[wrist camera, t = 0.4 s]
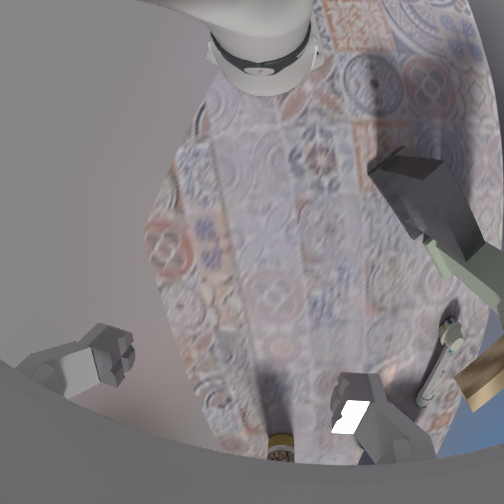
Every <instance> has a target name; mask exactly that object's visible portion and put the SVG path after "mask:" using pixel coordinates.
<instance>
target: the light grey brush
mask: <svg viewBox="0 0 504 504" xmlns="http://www.w3.org/2000/svg"><path fill="white" fill-rule="evenodd" d="M438 331H439V337H440V342H441V344H442V345H443V346H445V347H444V349H443V351H442V353H441V355H440V357H439V359H438V361H437V363H436V364H435V366H434V368H433V370H432V372H431V374H430V375H429V377H428V379H427V381H426V382H425V384H424V386H423V388H421V389H420V390H419V392H418V396H417V398H416V399H415V404H416V406H417V407H419V408H424V407H426V406H427V404H428V403H429V401H431V400H432V399H433V397H434V393H435V391H436V389H437V387H438V385H439V383H440V382H441V380H442V378H443V376H444V374H445V372H446V370H447V368H448V365H449V363H450V361H451V359H452V357H453V355H454V353H455V351H456V350H457V349H459V348H460V347H461V346H462V344H463V335H462V325H461V324H460V323H459V322H457V320H456V319H455V318H448V319H447V320H445V323H444V324H443V325H442V326H440V328H439V330H438Z"/></svg>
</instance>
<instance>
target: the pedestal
mask: <svg viewBox="0 0 504 504" xmlns="http://www.w3.org/2000/svg"><path fill="white" fill-rule="evenodd" d="M423 244H424V246H425V247H426V249H427V251H428V253H429V255H430V256H431V258H432V260H433V262H434V264H435V265H436V267H437V269H438V271H439V273H440V275H441V277H442V278H443V279H445V280H446V279H447V278H448V277H449V276H450V275H451V274H454V275H455V276H456V277H457V278H458V279H459V280H461V281H462V282H463V283H464V284H465V285H466V286H467V287H469V288H470V289H471V290H472V291H473V292H474V293H475V294H476V295H477V296H479V297H480V298H481V299H482V300H483V301H484V302H485V303H486V304H487V305H488V306H489V307H490V308H491V309H492V310H494V311H495V312H496V313H497V314H498V315H499V316H500V320H501V324H502V327H503V331H504V252H503V251H501V250H499V249H498V248H496V247H494V246H492V245H491V244H489V243H487V242H486V241H485V244H484V245H483V246H482V247H481V248H480V249H479V250H478V251H477V252H476V253H475V254H474V255H473V256H472V257H471V258H470V259H469V260H468V261H467V262H465V261H464V260H463V259H461V258H460V257H458V256H457V255H456V254H454V253H453V252H451V251H450V250H448V249H447V248H446V247H444V246H443V245H441V244H440V243H438V242H437V241H435V240H434V239H432V238H431V237H429V238H428V239H427V240H426V241H425V242H423Z"/></svg>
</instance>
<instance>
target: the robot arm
mask: <svg viewBox="0 0 504 504" xmlns="http://www.w3.org/2000/svg"><path fill="white" fill-rule="evenodd" d="M136 1H142V2H146V3H151V4H155V5H159V6H162V7H165V8H168V9H171V10H174V11H177V12H179V13H182V14H184V15H187V16H189V17H192V18H194V19H196V20H198V21H200V22H202V23H204V24H205V25H206V26H207V27H208V28H209V30H210V33H211V40H210V41H209V42H208V49H207V52H206V58H207V60H208V61H209V62H210V63H211V64H213V65H215V66H216V67H218V68H220V69H221V71H222V72H223V73H224V75H225V76H226V78H227V79H228V80H229V81H230V83H232V84H233V85H234V86H235V87H236V88H238V89H240V90H241V91H243V92H246V93H249V94H252V95H256V96H274V95H279V94H282V93H285V92H287V91H289V90H291V89H293V88H294V87H296V86H297V85H298V84H299V83H300V82H301V81H302V80H303V79H304V78H305V76H306V75H307V74H308V73H309V72H311V71H313V70H316V69H318V68H320V67H321V66H322V65H323V64H324V61H325V57H324V52H323V48H322V43H321V39H320V34H319V30H318V26H317V22H316V18H315V14H314V10H313V6H314V0H136ZM317 52H318V55H316V54H317ZM132 342H133V335H132V333H130V332H128V331H125V330H121V329H119V328H116V327H113V326H109V325H106V324H103V323H98V324H96V325H95V326H94V327H93V328H92V329H91V330H90V331H89V332H88V333H87V334H86V335H85V336H84V337H83V338H82V339H81V340H80V341H79V342H76V341H75V342H71V343H68V344H64V345H61V346H57V347H54V348H50V349H47V350H43V351H40V352H36V353H32V354H30V355H29V356H28V357H26V358H25V359H24V360H23V361H22V362H21V363H20V364H19V365H18V366H17V367H16V368H15V369H14V368H13V367H11V366H10V365H8V364H7V363H5V362H4V361H2V360H1V359H0V504H504V444H499V445H496V446H493V447H489V448H485V449H482V450H477V451H474V452H469V453H464V454H460V455H455V456H450V457H444V458H438V459H437V457H436V454H435V450H434V447H433V444H432V441H431V438H430V436H429V435H428V434H427V433H426V432H425V431H423V430H422V429H421V428H420V427H419V426H418V425H416V424H415V423H414V422H413V421H412V420H411V419H409V418H408V417H407V416H406V415H405V414H404V413H403V412H401V411H400V410H399V409H398V408H397V407H396V406H394V405H393V404H392V403H388V401H387V398H386V394H385V391H384V387H383V384H382V381H381V377H380V375H379V374H374V373H366V374H365V373H352V372H341V373H340V374H339V377H338V385H337V386H336V387H334V390H333V392H332V396H331V403H330V407H331V411H332V412H333V413H334V414H333V416H332V418H331V422H332V432H339V433H354V434H353V435H354V436H355V437H356V439H357V440H358V441H359V443H360V444H361V445H362V447H363V448H364V449H365V451H366V452H367V453H368V455H369V456H370V457H371V459H372V460H373V461H374V462H375V465H319V464H303V463H291V462H282V461H273V460H265V459H258V458H252V457H246V456H240V455H234V454H229V453H224V452H219V451H214V450H210V449H205V448H202V447H197V446H194V445H190V444H186V443H182V442H179V441H175V440H171V439H168V438H165V437H161V436H158V435H155V434H152V433H149V432H146V431H143V430H140V429H137V428H135V427H132V426H129V425H127V424H124V423H121V422H119V421H116V420H114V419H111V418H109V417H106V416H104V415H102V414H99V413H97V412H95V411H92V410H90V409H88V408H86V407H83V406H81V405H79V404H77V403H75V402H73V401H71V400H69V399H68V398H70V397H72V396H74V395H77V394H78V393H80V392H82V391H84V390H86V389H88V388H90V387H92V386H94V385H96V384H98V383H99V382H103V383H105V384H108V385H111V386H114V387H117V388H118V386H119V385H120V384H121V382H122V381H123V379H124V378H125V376H124V373H125V372H128V371H130V369H131V368H132V366H133V364H134V361H135V349H134V348H133V347H132V345H131V343H132Z"/></svg>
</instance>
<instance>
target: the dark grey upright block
mask: <svg viewBox="0 0 504 504" xmlns="http://www.w3.org/2000/svg"><path fill="white" fill-rule="evenodd" d="M368 176H369V177H370V178H371V180H372V181H373V182H374V184H375V185H376V186H377V188H378V189H379V191H380V192H381V193H382V195H383V196H384V198H385V199H386V201H387V202H388V204H389V205H390V206H391V208H392V209H393V211H394V212H395V214H396V215H397V217H398V218H399V220H400V222H401V223H402V225H403V226H404V228H405V229H406V231H407V232H408V234H409V236H410V237H411V238H412V239H413V240H415V239H416V238H417V237H419V236H420V235H421V234H422V233H425V234H426V235H428V236H429V237H431V238H432V239H434V240H435V241H437V242H438V243H440V244H441V245H443V246H444V247H446V248H447V249H448V250H450V251H451V252H453V253H454V254H456V255H457V256H458V257H460V258H461V259H463V260H464V261H465V262H467V261H468V260H469V259H470V258H471V257H472V256H473V255H474V254H475V253H476V252H477V251H478V250H479V249H480V248H481V247H482V246H483V245H484V244H485V241H484V239H483V236H482V234H481V231H480V229H479V227H478V224H477V222H476V220H475V218H474V216H473V213H472V211H471V209H470V207H469V205H468V203H467V201H466V199H465V197H464V195H463V193H462V191H461V189H460V187H459V185H458V183H457V181H456V179H455V178H454V176H453V174H452V172H451V170H450V169H449V167H448V165H447V163H446V162H445V161H443V160H435V159H427V158H418V157H412V156H411V155H410V153H409V152H408V150H407V149H406V147H405V146H401V147H400V148H398V149H397V150H396V151H395V152H394V153H392V154H391V155H390V156H389V157H388V158H387V159H385V160H384V161H383V162H382V163H381V164H379V165H378V166H377V167H376V168H375V169H373V170H372V171H371V172H370V173H369V174H368Z"/></svg>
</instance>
